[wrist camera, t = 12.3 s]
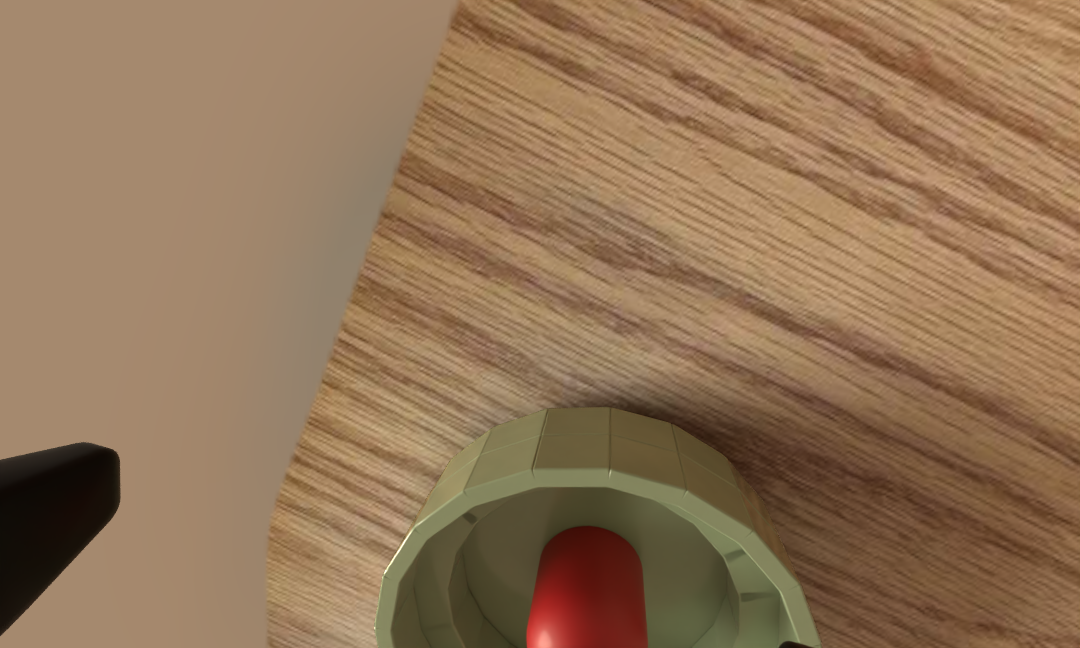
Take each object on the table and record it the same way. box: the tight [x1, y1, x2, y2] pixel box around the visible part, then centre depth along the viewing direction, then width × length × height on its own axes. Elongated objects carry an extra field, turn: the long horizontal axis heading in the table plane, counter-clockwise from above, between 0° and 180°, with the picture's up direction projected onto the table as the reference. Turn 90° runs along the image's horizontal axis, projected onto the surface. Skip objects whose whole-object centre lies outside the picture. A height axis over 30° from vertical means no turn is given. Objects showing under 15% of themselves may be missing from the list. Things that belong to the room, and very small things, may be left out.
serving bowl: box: [374, 407, 822, 648], centre depth 18 cm, size 13×13×4 cm
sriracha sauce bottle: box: [526, 526, 648, 648], centre depth 17 cm, size 4×4×5 cm
